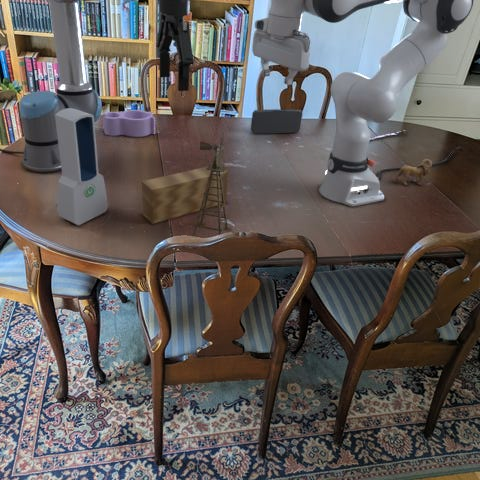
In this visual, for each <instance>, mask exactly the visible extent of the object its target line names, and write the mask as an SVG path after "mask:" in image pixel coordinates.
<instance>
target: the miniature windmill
mask: <svg viewBox="0 0 480 480" xmlns="http://www.w3.org/2000/svg"><path fill="white" fill-rule="evenodd" d="M225 137H226V134H225V133H222V132H221V133H220V137H219V138H220V139H218V141H219V142H218V143H217V145H214V146H213V145H212V144H211V143H208V142H205V141H202V140H201V141H199V150H200V151H211V150H213V151H215V155H214V156H213V162H209V163H208V166H206V167H207V168H206V170H211V172H210V175H209V177H208V179H209V180H208V183H207V184H206V186H207V187H206V190H205V193H204V198H203V200H202V202H201V203H202V205H201V208H200V209H199V210H200V211H198V214H197V217H196V222H195V224H194V230H193V233H192V237H193V236H195V237H196V234H197V232H198V231H197V230H198V228H201V229H207V230H213V231H218V236H219V235H220V234H221V235H222V232H223V231H222V230H223V229H224V227H225V230H228V229H229V225H228V219H229V216H227V211H226V203H225V202H224V196H223V188H222V181H221V176H222V175H221V174H220V172H224V171H225V170H226V168H227V167H228V166H227V165H225V164H221V163H222V159H223V158H224V157H223V155H224V153H225V152H224V149H226V148H225V143H226V142H225ZM211 167H212V168H211ZM213 172H216V174H214V173H213ZM218 173H219V174H218ZM212 175H216V178H217V179H213V178H212ZM218 176H219V179H218ZM211 180H214V181H217V187H214V186H210V185H211ZM218 181H220V188H219V182H218ZM210 188H216V189H217V195H215V194H210V193H209V189H210ZM219 189H221V192H220V194H219ZM208 195H212V196H217V200H218V201H217V200H212V199H208ZM220 195H221V196H222V201H220V200H219V196H220ZM205 198H206V199H205ZM207 200H209V201H214V202H218V205H217V210H215V209H210V208H207V209H205V208H206V203H207ZM204 202H205V204H204ZM220 203H222V204H221V205H220ZM203 205H204V206H203ZM222 210H223V212H222ZM206 211H208V212H213V213H217V214H212V213H207V212H206ZM221 212H222V213H223V215H221ZM205 216H209V217H210V216H211V217H216V218H218V219H217V220H218V221H217V222H218V228H214V227H209V226H203V222H204V217H205ZM221 219H224V222H223V224H222V221H221ZM199 224H200V225H199Z"/></svg>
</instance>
